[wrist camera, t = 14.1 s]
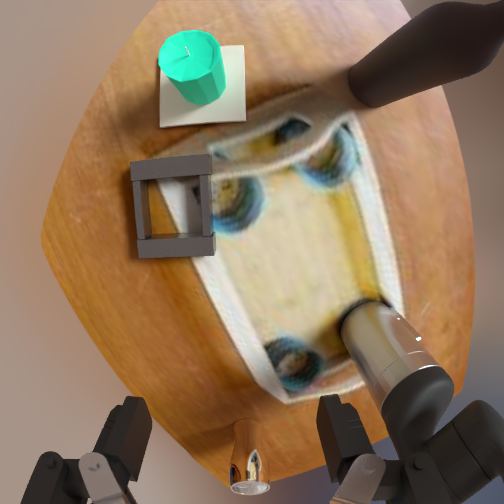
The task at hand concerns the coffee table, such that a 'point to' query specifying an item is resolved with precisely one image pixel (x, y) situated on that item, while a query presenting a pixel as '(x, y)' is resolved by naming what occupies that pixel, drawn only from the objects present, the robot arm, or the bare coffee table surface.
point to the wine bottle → (430, 52)
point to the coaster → (219, 111)
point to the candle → (194, 65)
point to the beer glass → (249, 459)
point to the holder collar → (146, 242)
